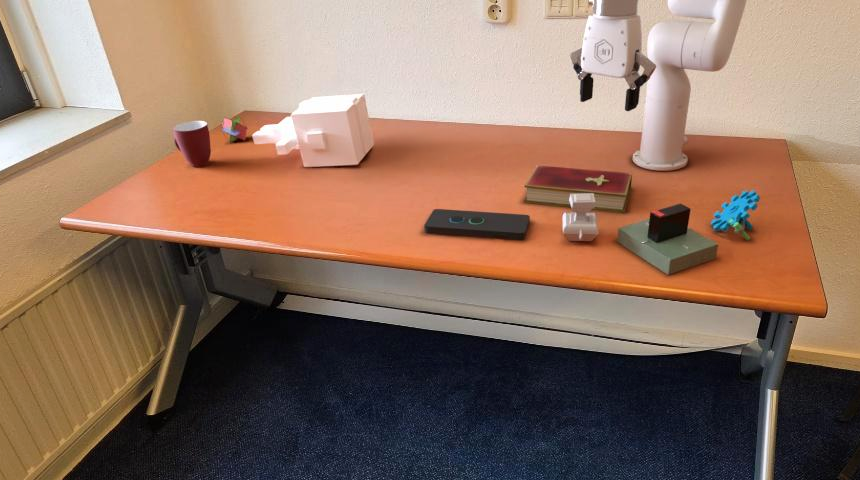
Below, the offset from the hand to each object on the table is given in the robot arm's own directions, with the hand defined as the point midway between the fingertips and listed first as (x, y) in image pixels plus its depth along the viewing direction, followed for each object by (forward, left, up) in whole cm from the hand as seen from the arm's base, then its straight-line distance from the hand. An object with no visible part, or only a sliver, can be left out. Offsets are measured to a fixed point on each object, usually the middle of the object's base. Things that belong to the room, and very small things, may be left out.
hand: (607, 104), depth 124 cm
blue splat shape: (-9, +24, -22) cm, 34 cm away
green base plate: (+6, +18, -22) cm, 29 cm away
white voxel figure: (+17, -74, -22) cm, 79 cm away
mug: (+39, -95, -22) cm, 105 cm away
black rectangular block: (+6, +18, -19) cm, 27 cm away
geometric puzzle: (+23, -102, -22) cm, 107 cm away
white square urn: (+12, +3, -22) cm, 25 cm away
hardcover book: (-4, -8, -22) cm, 24 cm away
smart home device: (+21, -15, -22) cm, 34 cm away
